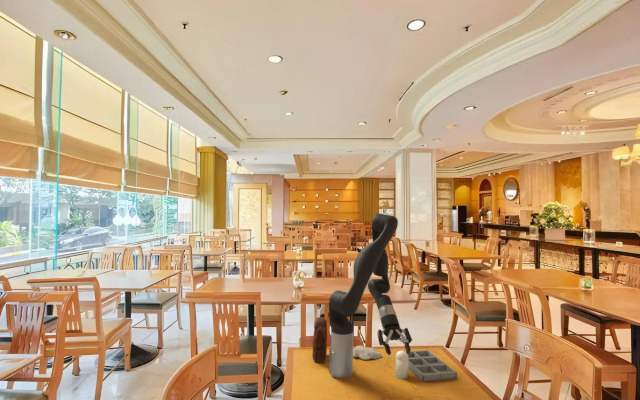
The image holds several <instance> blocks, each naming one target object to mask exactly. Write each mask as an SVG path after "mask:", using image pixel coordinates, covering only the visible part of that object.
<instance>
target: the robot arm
mask: <svg viewBox="0 0 640 400" xmlns="http://www.w3.org/2000/svg"><path fill="white" fill-rule="evenodd" d="M398 225H399V220H398V218H397V216H394V215H391V214H386V213H385V214H383V213H375V214H374V216H373V217H372V220H371V237H372V242H370V243H369V244H367V245H366V246H364V247H362V248H361V250H360V251H359V253H358V254H357V256H356V259H355V260H354V263H353V280H352V283H351V286H350V288H349V289H348V291H347V292H346V291H343V290H334V292H333V293H331V295H330V298H329V299H328V301H329V302H328V318H329V320H328V321H329V325H330V331H331V332H330V347H329V349H328V350H329V353H328V354H329V356H328V357H329V360H328V361H329V362H328V363H329V364H328V372H329V374H330V375H331V377H332V378H337V379H348V378H351V377H352V376H353V373H354V372H353V371H354V367H353V365H354V356H353V348H354V324H353V323H352V322H351V321H350V320H349V317H352V316H353V315H354V314H355V313H356V311H357V310H358V307H359V305H360V303H361V301H362V298H363V294H364V292H365V291H366V288H367V289H368V292H369V293H370V295H371V296H372V298H373V300H374V301H375V303H376V307H377V311H378V316H379V320H380V322H381V327H382V329H383V330H382V329H378V331H377V333H376V335H377V340H378V344H379V345H380V346H383V347H384V349H385V353H386V355H388V356H390V355H391V354H392V350H391V347H390V344H389V341H399V342H401V343H403V346H404V348H405V352H407V354H409V353H410V351H412V350H411V347H410V344H411V343H412V341H413V338H412V336H411V334H410V331H409V329H408V327H405V328H403V329H402V328H401V325H400V322H399V319H398V315H397V312H396V310H395V308H394V306H393V302H392V299H391V297H390V295H388V293H389V291H390V289H391V284H390V279H389V274H388V273H389V272H388V271H389V270H388V269H389V257H388V256H389V255H388V253H387V251H386V249H387V246H388V244H389V243H390V241H391V239H393V236H394V235H395V233H396V231H397V229H398ZM373 274H374V276H377V277H381V278H372V279H371V277H372V275H373ZM383 336H385V337H386V338H385V341H384V337H383Z"/></svg>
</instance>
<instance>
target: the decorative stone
mask: <svg viewBox="0 0 640 400" xmlns="http://www.w3.org/2000/svg"><path fill="white" fill-rule="evenodd" d="M380 357H381V358H382V357H383V355H382V354H381V352H378V351H377V349H376V348H375V347H366V346H364V345H356V347H353V358H359V359H361V360H363V361H367V360H378V359H381V358H380ZM377 358H378V359H377Z"/></svg>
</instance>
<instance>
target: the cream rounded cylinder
mask: <svg viewBox="0 0 640 400" xmlns="http://www.w3.org/2000/svg"><path fill="white" fill-rule="evenodd" d="M394 358H395V361H394V362H395V365H394V366H395V372H394V373H395V377H396V378H398V379H401V380H402V379H403V380H406V379H408V378H409V368H408V354H407V353H406V350H398V351H397V352H396V354H395V357H394Z"/></svg>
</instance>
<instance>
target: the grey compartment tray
mask: <svg viewBox="0 0 640 400" xmlns="http://www.w3.org/2000/svg"><path fill="white" fill-rule="evenodd" d="M405 352H406V351H405ZM406 353H407V352H406ZM408 370H410V371H411V372H412V373H413V374H414V375H415V376H416V377H418V379H419V380H420V381H421V382H422V383H426V382H428V383H429V382H436V381H438V382H439V381H448V380H449V381H450V380H457V379H458V372H457V371H456V370H455V369H454V368H452V367H451V366H450V365H448V364H446V362H444V360H442V359H440V358H439V357H438V356H436V355H435V354H434V353H432V352H431V351H430V350H428V349H426V350H424V349H423V350H411V351H410V353H409V354H408Z"/></svg>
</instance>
